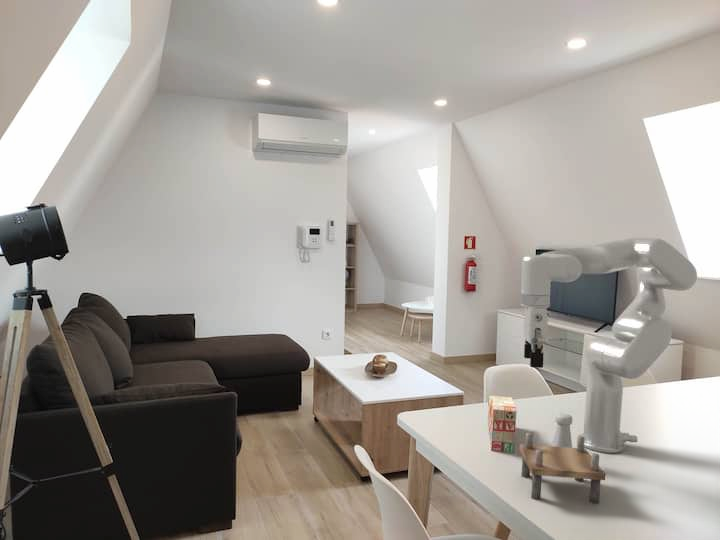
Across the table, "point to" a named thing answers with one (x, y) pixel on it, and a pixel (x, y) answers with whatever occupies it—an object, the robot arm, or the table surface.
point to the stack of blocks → (501, 423)
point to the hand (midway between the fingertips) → (533, 362)
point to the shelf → (561, 465)
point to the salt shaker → (563, 431)
